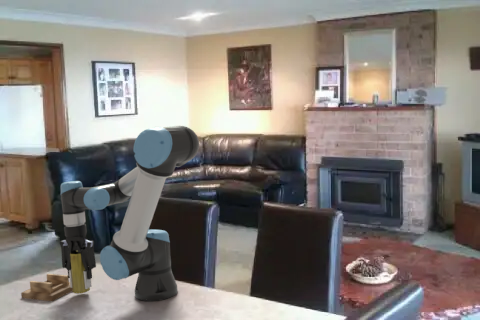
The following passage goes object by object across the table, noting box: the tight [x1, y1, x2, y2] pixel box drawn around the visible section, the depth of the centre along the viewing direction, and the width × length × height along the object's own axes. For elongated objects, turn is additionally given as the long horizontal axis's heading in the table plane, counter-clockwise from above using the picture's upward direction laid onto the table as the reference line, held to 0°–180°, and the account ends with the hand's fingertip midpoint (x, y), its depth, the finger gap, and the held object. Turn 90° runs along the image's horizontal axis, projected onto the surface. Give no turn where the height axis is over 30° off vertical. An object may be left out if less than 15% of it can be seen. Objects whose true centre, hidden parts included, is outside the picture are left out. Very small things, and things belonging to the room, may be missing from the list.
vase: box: [70, 251, 91, 295], centre depth 183 cm, size 6×6×14 cm
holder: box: [20, 273, 73, 302], centre depth 187 cm, size 14×14×6 cm
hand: (81, 287), depth 183 cm, fingers closed on vase, 6 cm apart
